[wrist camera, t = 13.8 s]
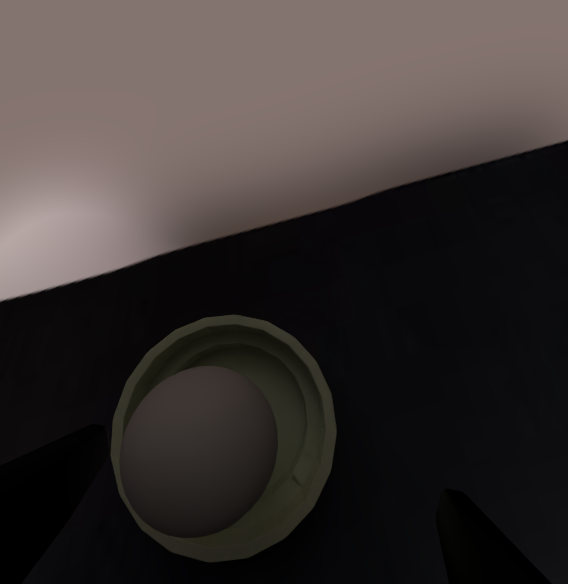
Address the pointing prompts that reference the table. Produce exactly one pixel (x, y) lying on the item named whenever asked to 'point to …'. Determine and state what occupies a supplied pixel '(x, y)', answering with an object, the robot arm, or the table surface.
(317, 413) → the bowl
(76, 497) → the robot arm
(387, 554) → the table surface
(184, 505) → the lightbulb
